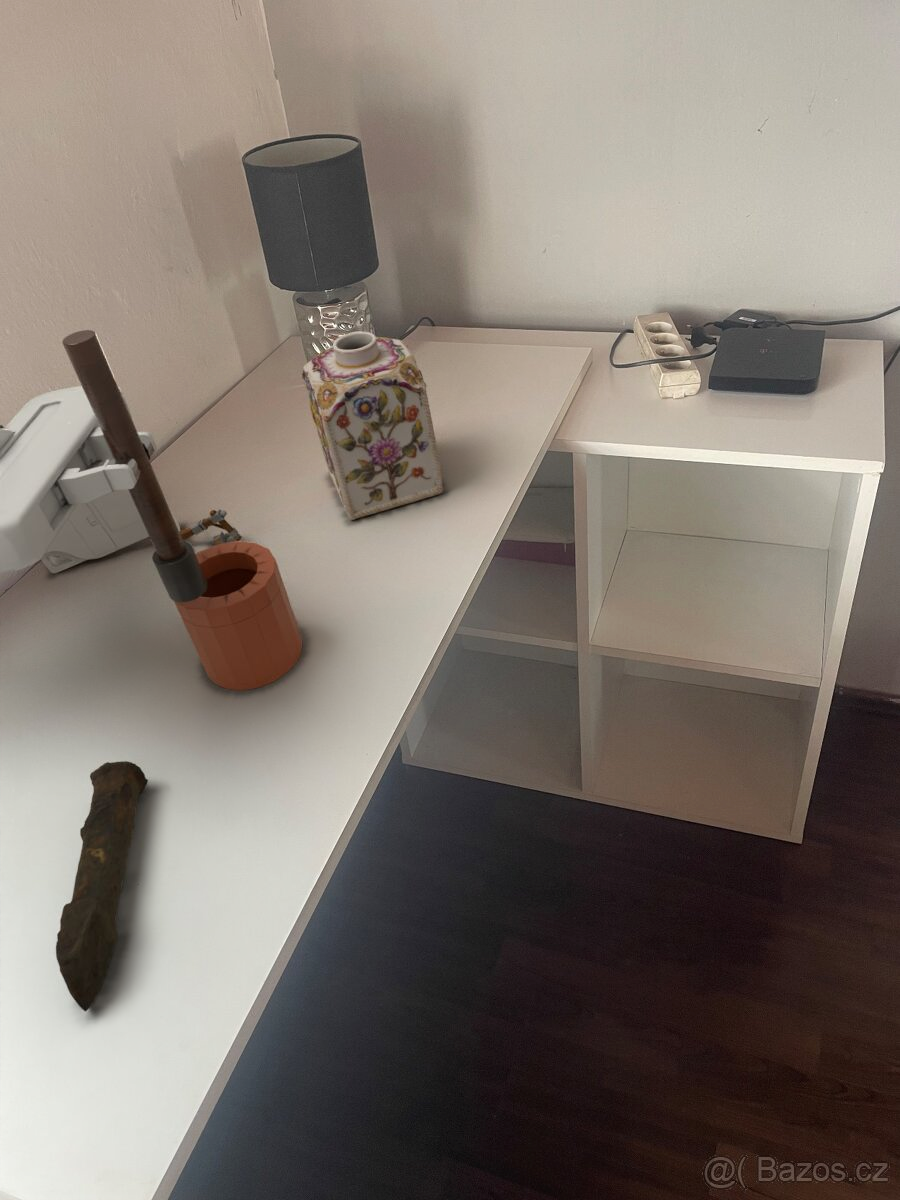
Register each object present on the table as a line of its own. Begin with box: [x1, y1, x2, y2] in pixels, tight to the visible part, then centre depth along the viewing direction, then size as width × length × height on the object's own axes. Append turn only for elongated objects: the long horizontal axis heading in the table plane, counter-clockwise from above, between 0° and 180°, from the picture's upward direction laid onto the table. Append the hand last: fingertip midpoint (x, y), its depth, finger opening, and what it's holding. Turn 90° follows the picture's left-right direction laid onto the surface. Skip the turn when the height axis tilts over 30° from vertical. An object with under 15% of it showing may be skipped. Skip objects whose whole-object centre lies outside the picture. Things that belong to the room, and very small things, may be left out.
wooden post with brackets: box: [179, 508, 243, 546], centre depth 97 cm, size 2×8×4 cm, turn 84°
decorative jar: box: [301, 330, 443, 521], centre depth 97 cm, size 12×12×18 cm
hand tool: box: [55, 760, 149, 1012], centre depth 64 cm, size 19×4×5 cm, turn 6°
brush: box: [61, 329, 208, 603], centre depth 64 cm, size 3×3×22 cm
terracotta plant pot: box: [173, 540, 303, 691], centre depth 80 cm, size 9×9×10 cm
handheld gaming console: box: [40, 460, 181, 574], centre depth 96 cm, size 11×3×15 cm
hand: (143, 459), depth 63 cm, fingers closed on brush, 2 cm apart
